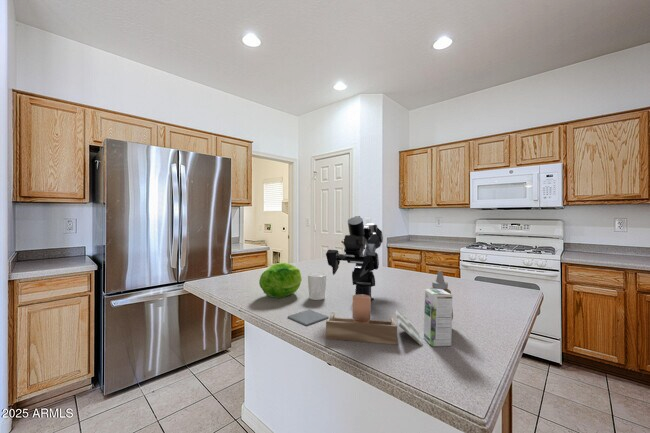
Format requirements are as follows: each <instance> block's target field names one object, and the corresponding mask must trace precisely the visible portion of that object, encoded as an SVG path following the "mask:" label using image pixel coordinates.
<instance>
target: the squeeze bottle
mask: <svg viewBox="0 0 650 433" xmlns="http://www.w3.org/2000/svg"><path fill="white" fill-rule="evenodd" d="M431 283H432V284H431V285H432V287H430V288H429V289H443V290H444V291H446V292H448V293H450V294H452V292H451V290H450V289H449V283H448V282H446V281H445V278H444V273H443V270H438V271H437V275H436V279H435V280H432V282H431ZM453 319H454V311H453V308H452V320H453Z"/></svg>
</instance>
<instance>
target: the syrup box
mask: <svg viewBox="0 0 650 433" xmlns="http://www.w3.org/2000/svg"><path fill="white" fill-rule="evenodd" d="M452 309H453V294H452V293H451V294H450V293H448V292H446V291H444V290H443V289H430V288H426V289H425V290H424V315H423V318H424V319H423V339H424V340H425V341H426V342H427V343H428V344H429V345H430V346H431V347H450V346H452V327H453V324H452V323H453V319H452Z"/></svg>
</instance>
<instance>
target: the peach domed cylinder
mask: <svg viewBox="0 0 650 433" xmlns="http://www.w3.org/2000/svg"><path fill="white" fill-rule="evenodd" d="M371 297H372V296H371ZM371 297H370V296H369V295H364V294H356V295H355V294H353V295H352V318H353V319H354V322H356V323H369V320H371V307H372V306H371V303H372V302H371V301H372V300H371Z"/></svg>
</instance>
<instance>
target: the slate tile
mask: <svg viewBox="0 0 650 433" xmlns="http://www.w3.org/2000/svg"><path fill="white" fill-rule="evenodd" d="M287 318H288V319H290V320H292V321H295V322H297V323H300V324H302V325H304V326H306V327H308V326H311V325H314V324H316V323H319V322H321V321H325V320H328V319H330V317H329V316H328V315H325V314H322V313H319V311H314V310H312V309H305V310H302V311H299V312H296V313H294V314H290V315H287Z"/></svg>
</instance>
